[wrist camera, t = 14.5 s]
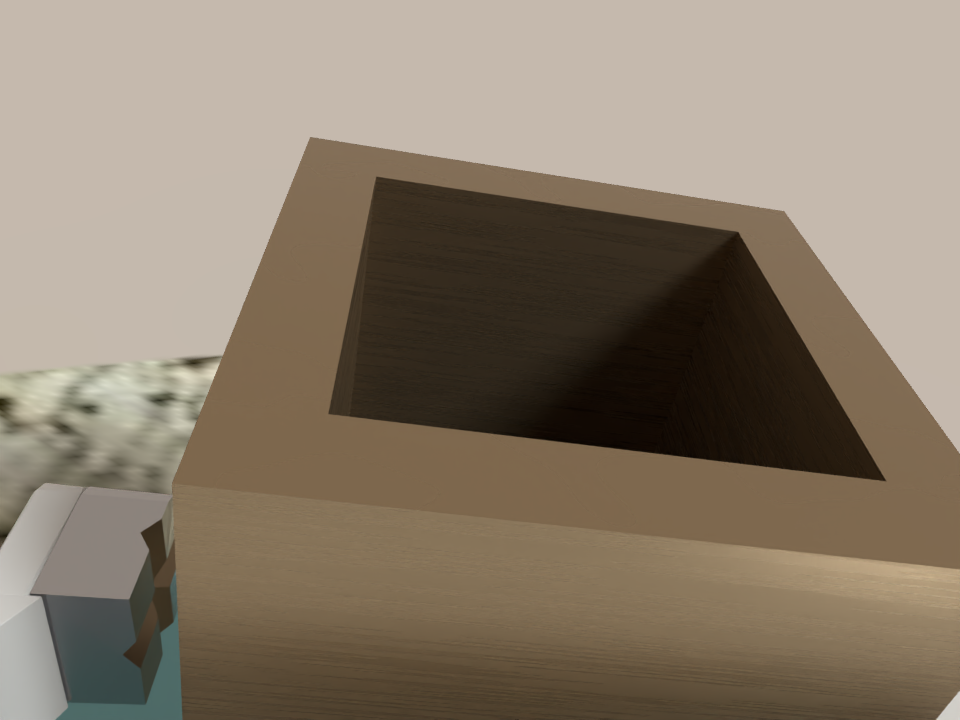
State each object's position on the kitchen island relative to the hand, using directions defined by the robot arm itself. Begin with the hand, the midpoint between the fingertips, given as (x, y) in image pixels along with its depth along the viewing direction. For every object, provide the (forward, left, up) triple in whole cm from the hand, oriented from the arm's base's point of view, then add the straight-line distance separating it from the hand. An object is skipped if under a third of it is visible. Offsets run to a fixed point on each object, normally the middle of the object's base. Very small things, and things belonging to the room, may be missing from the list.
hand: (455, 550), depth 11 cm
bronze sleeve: (0, +1, -10) cm, 10 cm away
